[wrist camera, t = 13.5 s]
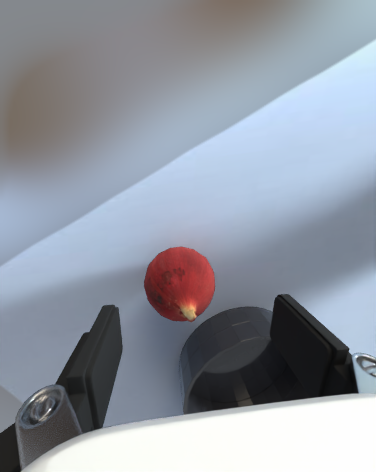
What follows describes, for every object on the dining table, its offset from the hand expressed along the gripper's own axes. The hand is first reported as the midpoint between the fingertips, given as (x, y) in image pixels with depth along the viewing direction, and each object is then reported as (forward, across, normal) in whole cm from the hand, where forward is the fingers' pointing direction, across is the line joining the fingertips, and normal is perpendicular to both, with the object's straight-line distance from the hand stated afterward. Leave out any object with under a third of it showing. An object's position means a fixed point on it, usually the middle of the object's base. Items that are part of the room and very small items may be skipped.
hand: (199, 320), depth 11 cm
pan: (+9, -7, +14) cm, 18 cm away
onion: (+9, +1, 0) cm, 9 cm away
